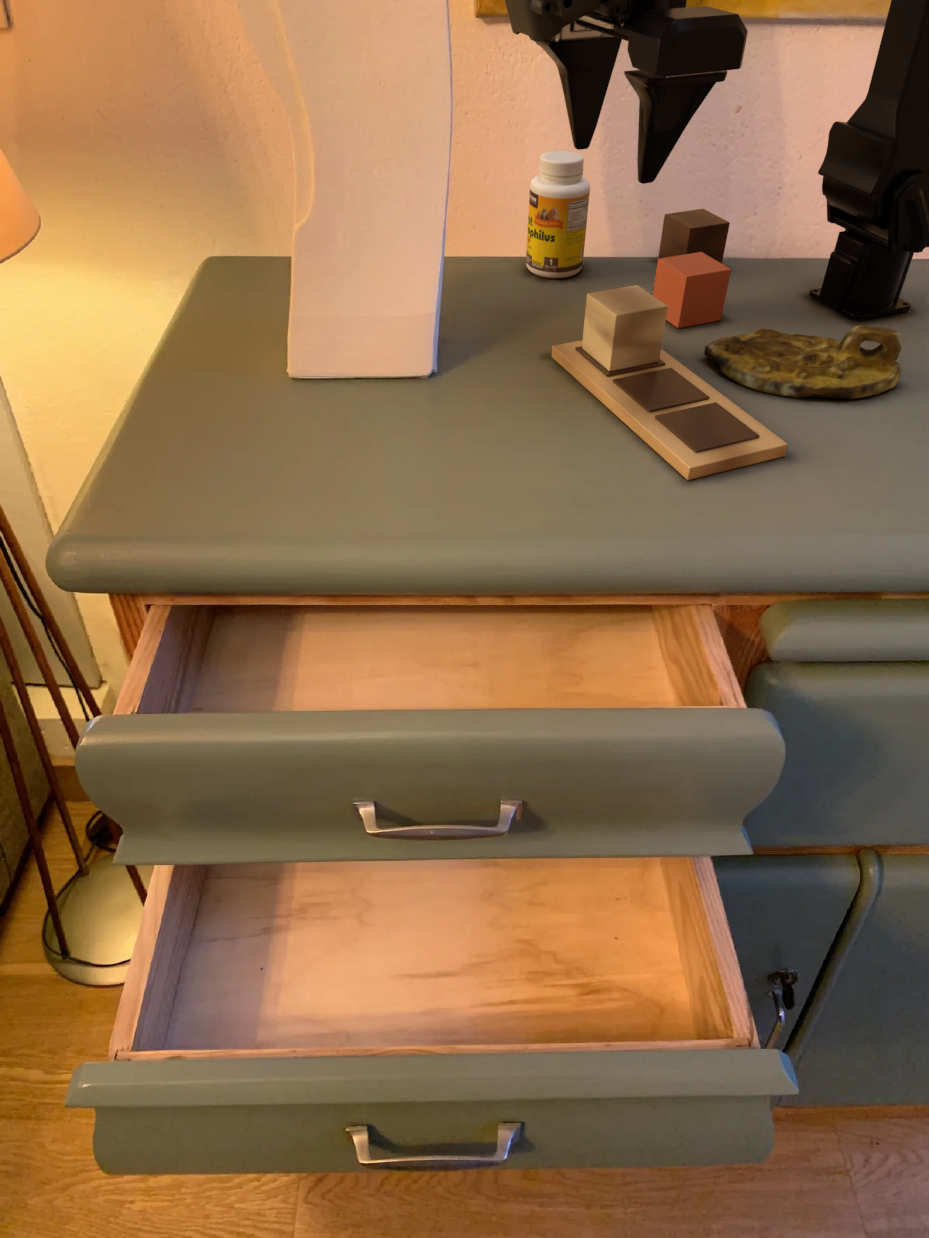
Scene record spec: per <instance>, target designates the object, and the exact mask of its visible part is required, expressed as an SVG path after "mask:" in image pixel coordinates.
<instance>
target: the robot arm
mask: <svg viewBox="0 0 929 1238" xmlns="http://www.w3.org/2000/svg"><path fill="white" fill-rule="evenodd" d="M687 1H688V0H504V4H505V8H506V12H507V16H508V19H509V23H510V27H511V30H512V31H511V32H512V33H513V34H515V35H519V34H522V35H525V36H527V37H528V38H529V39H530V40H531V41H533V42H534V43H535V44H536V45H537V46H539V47H540V48H541V49H542V50H543V51H544V52H545V54H546V55H547V56H548V57H549V58H550V59H551V60H552V61H553V62H554V64H555V65H556V68H557V71H558V76H559V80H560V83H561V88H562V92H563V96H564V97H563V98H564V102H565V108H566V113H567V118H568V124H569V128H570V133H571V134H570V135H571V138H572V143H573V147H574V149H576V150H578V151H580V150H587V149H589V148H590V145H591V142H592V139H593V137H594V135H595V131H596V129H597V126H598V123H599V118H600V115H601V112H602V108H603V105H604V101H605V98H606V95H607V92H608V89H609V85H610V81H611V78H612V75H613V71H614V68H615V65H616V62H617V57H618V55H619V52H620V48H621V44H622V42H623V41H626V42H627V54H628V57H629V59H630V63H631V67H632V69H633V68H634V69H633V70H624V71H623V75H624V77H625V78H626V79H627V81H628V83H629V84H630V86H631V87H632V89H633V90H634V92H635V93H636V95H637V97H638V100H639V101H638V102H639V105H638V106H639V107H638V128H637V129H638V131H637V158H636V161H637V163H636V165H637V181H638V183H639V184H642V185H644V184H651V183H653V182H655V181H656V178H657V177H658V175H659V174H660V172H661V170H662V168H663V167H664V165H665V163H666V161H667V160H668V159H669V157H670V155H671V153H672V151H673V150H674V148H675V147H676V144H677V143H678V142H679V140H680V138H681V137H682V134H683V133H684V132H685V130H686V128H687V126H688V125H689V123H690V122H691V120H692V118H693V117H694V115H695V114H696V112H697V111H698V110H699V109H700V107H701V105H702V104H703V102H704V101H705V100H706V98H707V97H708V95H709V94H710V92H711V91H712V89H713V88H714V86H715V85H716V83H723V82H725V81H726V78H727V76H728V71H733V70H735V71H736V70H741V68H742V66H743V60H744V56H745V51H746V50H745V49H746V43H747V39H748V32H749V31H748V29H747V27H746V25H745V24H744V22H743V20H742V18H741V16H740V14H739V13H736V12H732V11H727V10H724V9H720V8H716V7H712V6H708V5H700V6H688V7H687ZM889 4H890V5H889V8H888V12H887V16H886V20H885V24H884V27H883V32H882V36H881V39H880V43H879V47H878V51H877V55H876V59H875V64H874V67H873V70H872V75H871V78H870V83H869V86H868V91H867V94H866V96H865V98H864V100H863V101H862V103H861V104H860V105H859V106H858V108H857V109H856V110H855V111H854V112H853V114H852V115H851V116H850V118H849V119H848V120H847V121H837V120H836V121H834V122H833V123H832V125H831V127H830V129H829V132H828V138H827V146H826V153H825V155H824V157H823V158H824V159H823V161H822V163H821V165H820V167H819V169H818V171H817V174H818V175H820V176H821V177H822V181H821V193H822V195H823V196H824V197H825V200H826V220H827V222H828V223H829V224H834V225H837V226H839V227H841V228H843V229H844V230H842V231H838V234H837V239H836V241H835V246H834V249H833V250H832V251H831V252H830V255H829V259H828V262H827V265H826V269H825V273H824V276H823V280H822V284H821V287H816V288H811V289H809V292H808V295H809V297H811V298H813V299H814V300H816V301H818V302H820V303H822V304H823V305H825V306H827V307H829V308H831V309H833V311H836V312H838V313H839V314H842V315H843V316H845V317H846V318H848V319H850V320H852V321H862V320H863V321H864V320H868V319H873V318H878V317H882V316H888V315H893V314H898V313H904V312H907V311H910V310H911V307H912V304H911V303H910V302H908V301H906V300H904V299H902V298H900V296H901V294H902V290H903V287H904V284H905V282H906V279H907V275H908V272H909V269H910V267H911V263H912V260H913V257H914V254H918V253H923V251H924V250H925V249H926V248H929V0H891V1H890V3H889Z"/></svg>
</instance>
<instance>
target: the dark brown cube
mask: <svg viewBox="0 0 929 1238" xmlns="http://www.w3.org/2000/svg"><path fill="white" fill-rule="evenodd" d="M730 225H731V223H730V221H728V220H726V219H724V218H722V217H720V216H718V215H716V214H714V213H712V212H710V211H709V210H707V209H705V208H697V209H691V210H684V211H677V212H670V213H665V214H664V215H663V222H662V229H661V235H660V243H659V244H660V245H659V248H658V256H657V260H658V259H660V258H666V257H672V256H679V255H685V254H691V253H697V252H702V253H704V254H706V255H708V256H709V257H711V258H713V259H714V260H716V261H718V262H720V263H721V264H723V261H724V255H725V250H726V245H727V240H728V235H729V230H730Z"/></svg>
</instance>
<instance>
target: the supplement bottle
mask: <svg viewBox="0 0 929 1238" xmlns="http://www.w3.org/2000/svg"><path fill="white" fill-rule="evenodd" d="M539 158H540V159H539V167H538V174H537V175H535V176H534V177H533V178H532V179H531V181H530V185H529V196H528V197H529V198H528V199H529V200H528V214H527V234H526V235H527V237H526V254H525V257H526V258H525V264H526V267H527V269H528V270H529V271H530V272H531V273H532V274H533V275H534V274H535V275H536V276H539V277H543V278H549V279H565V278H569V277H573V276H575V275H577V274H578V273H579V272H580V271H581V270H582V268H583V265H584V254H585V246H586V245H585V244H586V236H587V225H588V213H589V203H590V195H591V184H590V182H589V180H588V179H587V177H584V176H583V175H584V159H585V158H584V156H583V155H582V154H580V153H578V152H575V151H568V150H552V151H551V150H550V151H546V152H544V153H542V154H541V155H540V157H539Z"/></svg>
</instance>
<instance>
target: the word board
mask: <svg viewBox="0 0 929 1238" xmlns="http://www.w3.org/2000/svg"><path fill="white" fill-rule="evenodd" d="M667 308H668V306H667V305H666V304H664V303H663V302H661V301H660V300H658V299H657V298H655V297H654V296H653V294H651V293H650V292H648V291H647V290H645V289H644V288H642V287H641V286H640V285H638V284H635V285H629V286H622V287H616V288H610V289H606V290H605V289H604V290H598V291H594V292H593V291H591V292H587V293H586V302H585V312H584V320H583V330H582V331H583V332H582V339H581V340H577V341H571V342H566V343H559V344H555V345H552V346H551V358H552V359H553V360H554V361H555V362H557V363H558V365H560V366H561V367H562V368H563V369H564V370H565V371H566V372H567V373H568V374H570V375H571V376H572V377H573V378H574V379H575V380H576V381H577V382H579V384H581V385H582V387H584V388H585V389H586V390H587V391H588V392H589V393H591V394H592V396H594V397H595V398H596V399H597V400H598V401H599V402H601V403H602V405H604V406H605V407H606V408H607V409H608V410H610V412H611V413H613V414H614V415H615V416H616V417H617V418H618V419H619V420H621V421H622V422H623V423H624V424H625V425H626V426H627V427H628V428H629V429H630V430H632V432H634V433H635V434H636V435H637V436H638V437H639V438H640V439H641V440H643V442H645V443H646V444H647V445H648V446H649V447H650V448H651V449H652V450H654V451H655V452H656V453H657V454H658V455H659V456H660V457H661V458H662V459H663V460H665V461H666V462H667V464H669V465H670V466H671V467H672V468H674V470H676V471H677V472H678V473H679V474H680V475H681V476H682V477H684V478H685V480H686V481H691V480H694V479H699V478H703V477H706V476H711V475H715V474H718V473H723V472H726V471H730V470H734V469H738V468H743V467H747V466H750V465H751V466H752V465H755V464H759V463H763V462H766V461H767V462H768V461H771V460H776V459H779V458H783V457H785V456H786V454H787V450H788V446H789V443H787V442H786V441H784V440H783V439H782V438H780V436H778V435H777V434H775V433H774V432H773V431H771V430H770V429H769V428H767V427H766V426H765V425H764V424H762V423H761V422H759V421H758V420H757V419H755V417H753V416H752V415H751V414H750V413H748V412H746V411H744V409H742V408H741V407H740V406H738V405H737V404H736V403H735V402H733V401H732V400H730V398H727V397H726V396H725V395H724V394H723V393H721V392H719V390H717V389H716V388H714V387H713V386H712V385H710V384H709V383H708V382H706V381H705V380H704V379H703V378H701V377H699V376H698V375H697V374H696V373H694V372H693V371H692V370H690V369H689V368H688V367H687V366H685V365H684V364H682V363H681V362H680V361H679V360H677V359H676V358H675V357H674V356H672V355H670V354H669V353H668V352H666V351H665V350H664V349H662V345H663V341H664V340H663V339H664V334H665V327H666V321H667V320H666V315H667Z"/></svg>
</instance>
